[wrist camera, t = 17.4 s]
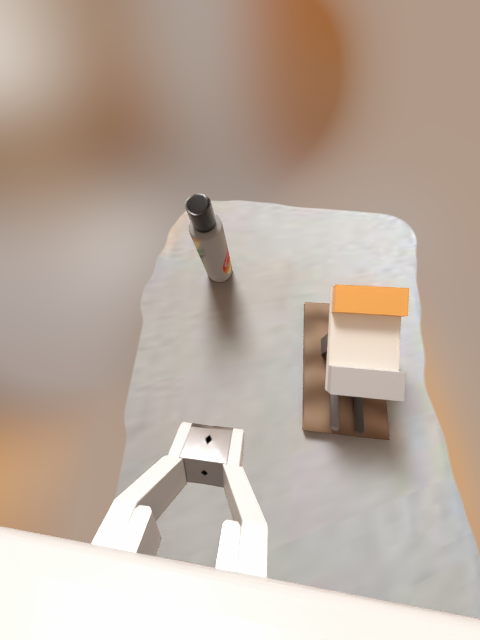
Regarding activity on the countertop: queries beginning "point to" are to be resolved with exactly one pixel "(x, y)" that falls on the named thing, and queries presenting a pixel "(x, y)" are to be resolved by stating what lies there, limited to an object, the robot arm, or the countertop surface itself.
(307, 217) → the countertop surface
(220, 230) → the lotion bottle
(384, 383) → the block
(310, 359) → the mounting board
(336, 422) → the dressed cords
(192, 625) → the robot arm
